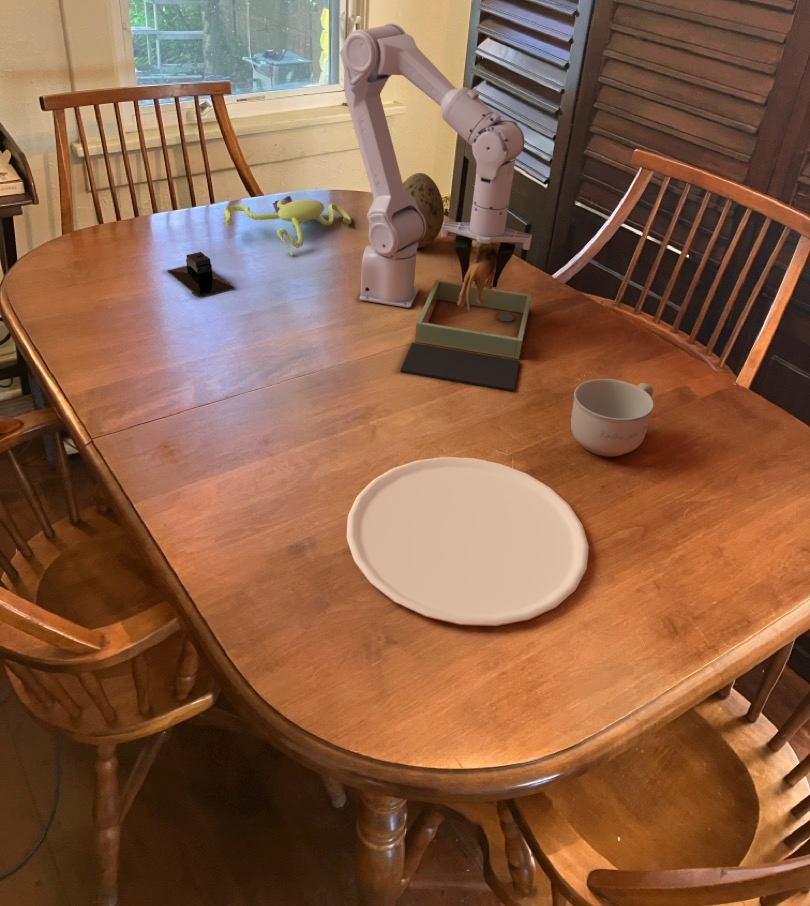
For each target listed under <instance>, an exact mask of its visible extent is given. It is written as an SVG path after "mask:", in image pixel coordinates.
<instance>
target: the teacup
mask: <svg viewBox="0 0 810 906" xmlns="http://www.w3.org/2000/svg"><path fill="white" fill-rule="evenodd" d="M653 396H654V388H653V386H652V384H650V383H647V382H641V383H639V384H637V385H636V384H633V383H630V382H627V381H624V380H620V379H613V378H595V379H594V378H593V379H589V380H586V381H583V382H582V383H580V384H578V386H576V388H575V389H574V391H573V403H572V409H571V417H570V430H571V433H572V435H573V437H574V439H575V440H576V441H577V442H578V443H579V444H580V445H581V446H582V447H583V448H584V449H585V450H587V451H589V452H591V453H592V454H594V455H599V456H602V457H618V456H619V457H620V456H622V455H624V454H627V453H630V452H632V451H634V450H636V449H637V448H638V447H639V446H640V445H641V444H642V443H643V441H644V440H645V437H646V434H647V431H648V427H649V424H650V420H651V416H652V412H653V411H654V407H655V402H654V400H653Z"/></svg>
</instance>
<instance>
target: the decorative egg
mask: <svg viewBox="0 0 810 906" xmlns="http://www.w3.org/2000/svg"><path fill="white" fill-rule="evenodd" d="M402 183H403V186H404V190H405V191H406V192H407V193H408V194H410V195H411V196H412V197H414V198H415V199H416V203H417V206H418V209H419V210H420V212H421V213H422V214H423V216H424V218H425V221H426V233H425V235H424V237H423V238H422V239H421V240H419V242H418V248H417V249H420V248H424V247H426V246H429V244H431V243H433V241H435V240H436V238H437V237H438V236H439V234H440V233H441V230H442V225H443V223H444V220H445V208H444V201H443V197H442V194H441V192H440V189H439V187H438V185H437V184H436V182H435V181H434V180H433V178H431V177H430V176H429V175H428V174H426V173H423V172H417V173H416V172H415V173H413V174H412V175H410V176H409V177H408V178H407V179H405V180H404V182H402ZM394 213H395V212H394Z"/></svg>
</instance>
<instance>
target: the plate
mask: <svg viewBox="0 0 810 906" xmlns="http://www.w3.org/2000/svg"><path fill="white" fill-rule="evenodd" d="M346 541H347V544H348V547H349V551H350V553H351V556H352V559H353V562H354V564H355V565H356V566H357V568H358V569H359V570H360V571H361V573H362V574H363V576H364V577H365V578H366V579H367V581H368V582H369V584H371V585H372V586H373V587H374V588H376V589H377V590H378V591H379V592H381V593H382V594H383V595H385V596H386V597H387V598H389V600H391V601H392V602H393V603H396V604H398V605H400V606H402V607H404V608H406V609H408V610H411V611H413V612H415V613H417V614H419V615H421V616H423V617H424V618H425V617H426V618H430V619H434V620H437V621H441V622H447V623H450V624H455V625H460V626H483V627H484V626H485V627H486V626H487V627H498V626H503V625H509V624H514V623H519V622H525V621H529V620H532V619H534V618H536V617H538V616H541V615H543V614H544V613H545V614H546V613H548V612H549V611H552V610H553V609H556V608H557V607H558V606H560V605H561V604H562V603H563V602H564V601H565V600H566V599H567V598H568V597H570V595H572V594H573V593H574V592H575V591H576V590H577V588H578V586H579V584H580V583H581V580H582V579H583V577H584V575H585V573H586V571H587V568H588V559H589V548H590V547H589V546H590V545H589V543H588V539H587V536H586V531H585V528H584V526H583V524H582V522H581V521H580V518H579V517H578V516H577V514H576V512H575V511H574V510H573V508H572V507H571V505H570V504H569V503H568V502H567V501H566V500H565V499H563V498H562V497H561V495H559V494H558V493H557V492H556V491H554V490H553V488H551V487H550V486H548V485H546V484H545V483H543V482H542V481H540V480H538V479H536V478H535V477H533V476H531V475H530V474H528V473H526V472H523V471H521V470H518V469H515V468H514V467H511V466H508V465H505V464H503V463H499V462H494V461H488V460H486V459H485V460H484V459H479V458H474V457H456V456H440V457H433V458H424V459H418V460H415V461H414V460H413V461H411V462H408V463H404V464H401V465H399V466H398V465H397V466H396V467H393V468H390V469H389V470H387V471H386V472H384V473H382V474H381V475H379V476H377V477H375V478H374V479H372V480H371V481H370V482H369V483H368V485H366V486H365V487H364V488H363V489H362V490H361V492H359V494H357V496H356V497H355V499H354V502H353V504H352V505H351V508H350V510H349V513H348V515H347V525H346Z"/></svg>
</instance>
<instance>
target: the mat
mask: <svg viewBox="0 0 810 906" xmlns="http://www.w3.org/2000/svg"><path fill="white" fill-rule="evenodd" d="M520 361H521V360H519V359H513V358H507V357H501V356H495V355H489V354H483V353H478V352H472V351H466V350H460V349H454V348H448V347H442V346H436V345H430V344H424V343H418V342H412V343H411V345H410V347H409V349H408V351H407V354H406V356H405V358H404V360H403V362H402V365H401V367H400V369H399V370H400V371H399V372H400V373H404V374H408V375H409V374H410V375H415V376H421V377H426V378H433V379H436V380H437V379H438V380H443V381H449V382H455V383H462V384H466V385H472V386H477V387H484V388H490V389H496V390H500V391H501V390H502V391H507V392H512V393H513V392H515V386H516V381H517V377H518V373H519V367H520Z"/></svg>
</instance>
